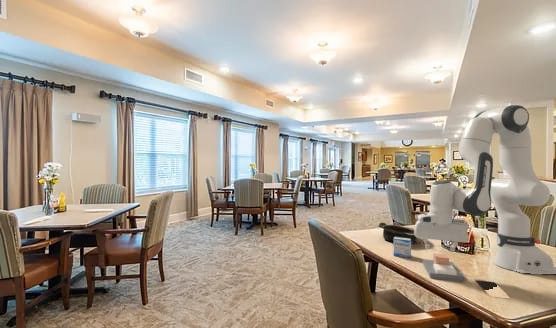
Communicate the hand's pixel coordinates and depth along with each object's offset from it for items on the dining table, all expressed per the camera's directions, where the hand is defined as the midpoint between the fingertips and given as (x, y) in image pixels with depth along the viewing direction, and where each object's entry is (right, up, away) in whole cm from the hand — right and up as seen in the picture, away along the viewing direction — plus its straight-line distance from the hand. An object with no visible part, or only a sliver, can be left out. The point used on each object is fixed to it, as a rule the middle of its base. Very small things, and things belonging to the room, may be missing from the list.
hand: (439, 250), depth 123 cm
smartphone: (+9, -10, -18) cm, 22 cm away
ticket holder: (0, -9, -2) cm, 9 cm away
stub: (+1, -7, 0) cm, 7 cm away
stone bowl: (+3, -8, +46) cm, 47 cm away
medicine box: (-8, -9, +19) cm, 22 cm away
